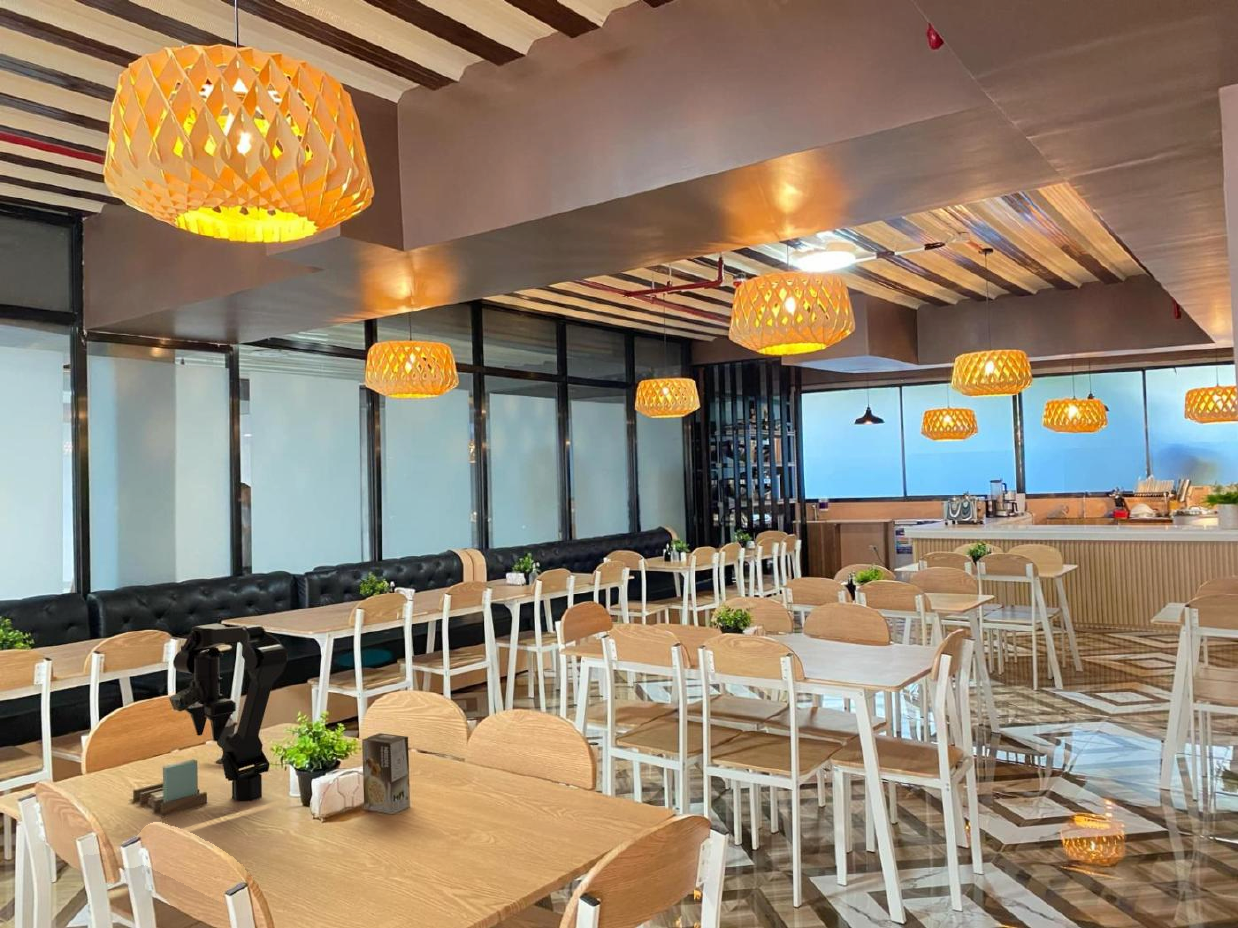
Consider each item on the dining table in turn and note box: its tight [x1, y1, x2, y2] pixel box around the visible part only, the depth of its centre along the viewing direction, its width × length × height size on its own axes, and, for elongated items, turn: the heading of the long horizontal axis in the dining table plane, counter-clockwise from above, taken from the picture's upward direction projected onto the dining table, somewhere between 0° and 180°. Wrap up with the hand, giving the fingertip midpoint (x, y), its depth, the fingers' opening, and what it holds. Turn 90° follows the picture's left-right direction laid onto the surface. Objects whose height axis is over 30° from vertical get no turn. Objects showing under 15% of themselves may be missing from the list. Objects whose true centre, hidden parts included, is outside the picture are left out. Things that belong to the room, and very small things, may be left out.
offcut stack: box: [148, 791, 163, 807], centre depth 212 cm, size 5×8×2 cm, turn 139°
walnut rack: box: [129, 782, 212, 819], centre depth 211 cm, size 20×11×4 cm, turn 49°
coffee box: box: [361, 732, 411, 815], centre depth 206 cm, size 9×6×16 cm
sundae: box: [215, 715, 239, 764], centre depth 248 cm, size 7×7×15 cm
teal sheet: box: [162, 759, 199, 803], centre depth 208 cm, size 2×7×10 cm, turn 139°
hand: (207, 737), depth 223 cm, fingers open, 9 cm apart
